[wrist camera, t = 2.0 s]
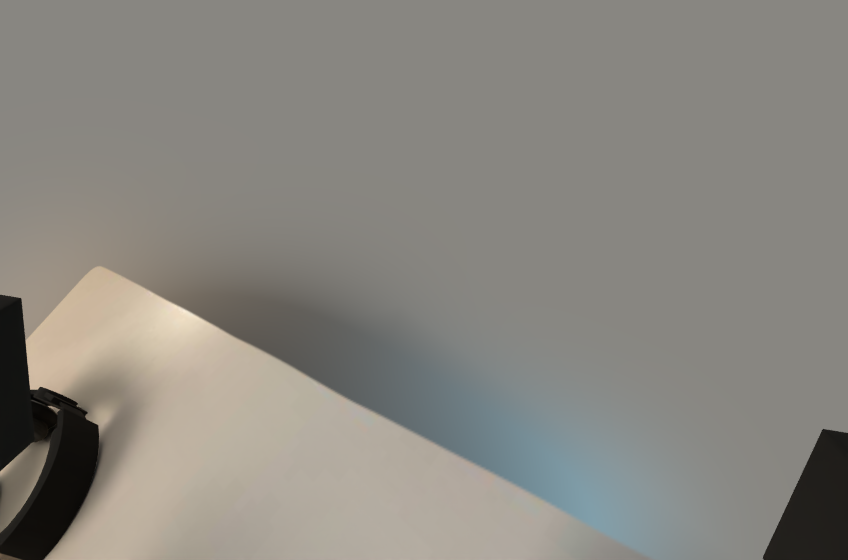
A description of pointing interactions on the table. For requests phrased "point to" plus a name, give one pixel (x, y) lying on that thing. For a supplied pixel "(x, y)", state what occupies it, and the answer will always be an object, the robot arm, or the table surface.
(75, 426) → the headphones
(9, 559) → the panel
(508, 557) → the table surface
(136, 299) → the table surface
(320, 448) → the table surface
